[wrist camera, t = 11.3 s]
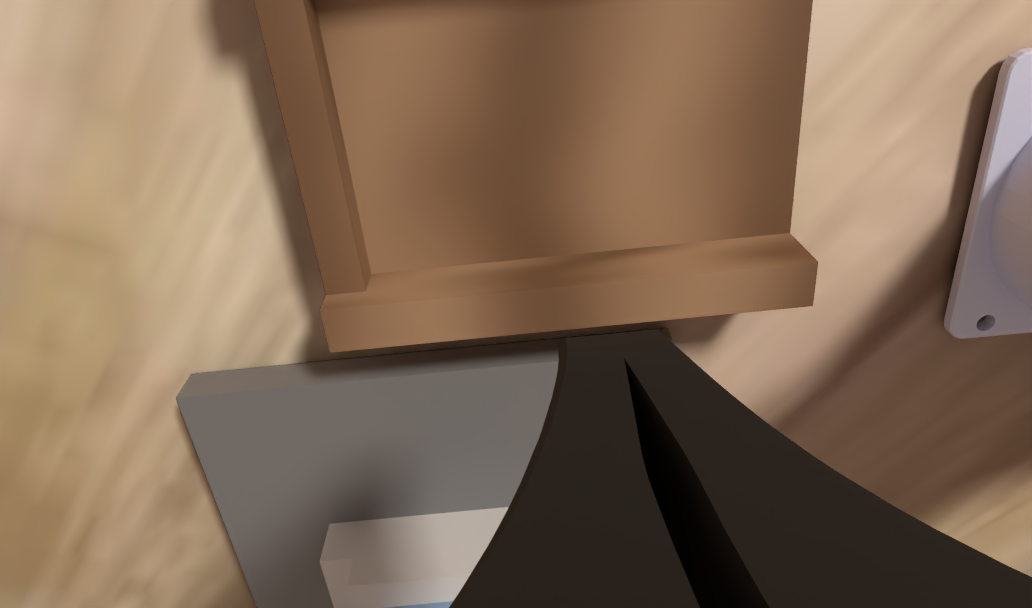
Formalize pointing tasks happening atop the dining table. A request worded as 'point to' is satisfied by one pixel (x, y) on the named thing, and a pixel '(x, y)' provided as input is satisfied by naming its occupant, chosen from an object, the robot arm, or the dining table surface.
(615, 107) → the wooden serving tray
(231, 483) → the port panel
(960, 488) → the dining table surface
